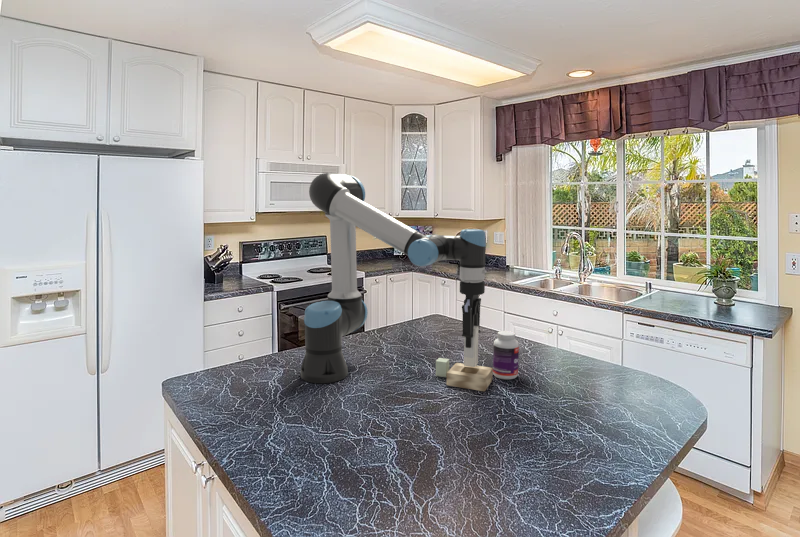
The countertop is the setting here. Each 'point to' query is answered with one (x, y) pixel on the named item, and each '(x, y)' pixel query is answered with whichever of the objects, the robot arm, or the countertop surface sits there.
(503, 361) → the pill bottle
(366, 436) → the countertop surface
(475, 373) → the hole block
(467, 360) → the long peg
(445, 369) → the short peg
